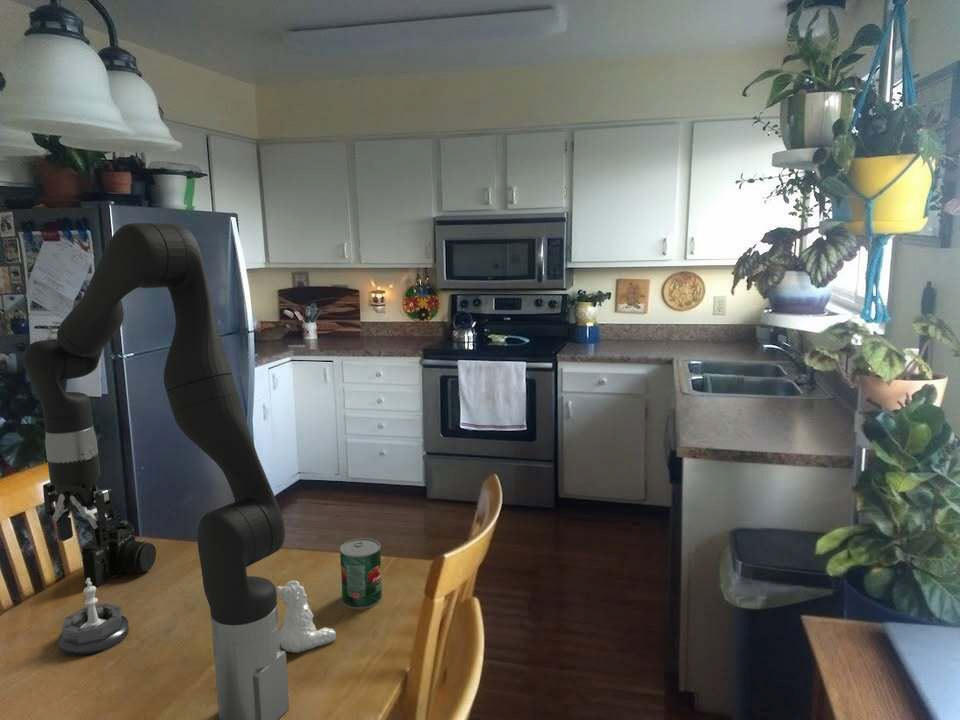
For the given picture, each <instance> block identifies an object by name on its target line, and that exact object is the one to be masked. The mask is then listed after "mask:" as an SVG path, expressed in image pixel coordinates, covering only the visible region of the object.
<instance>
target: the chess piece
mask: <svg viewBox="0 0 960 720" xmlns="http://www.w3.org/2000/svg"><path fill="white" fill-rule="evenodd" d="M86 584H87V587H86V586H85V588H84V589H83V590H82V592H83V594H84V596H85V597H86V599H85V601H84V602H83V603H84V605H86V606H87V607H88V621H87V622H86V623H85V624H83V625H82V626H81V627H80V628H81V629H82V628H87V627H92V626H97V625H100V624H102V623H103V622H105V621H107V620H104V619H99V618H98V615H97V612H96V608H95V605H96V603H98V601H99V599H98V598H97V597H95V596H96V595H95V594H96V591H97V588H96V587H95V586H91V585H92V583H91V581H90V578H87V581H86Z"/></svg>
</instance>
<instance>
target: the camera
mask: <svg viewBox="0 0 960 720" xmlns="http://www.w3.org/2000/svg"><path fill="white" fill-rule="evenodd" d="M107 531H108V543H107V545H105V546H103V547H101V548H95V547H94V543H93V537H91V539H89V541H87V542H86V543H85V544H84V545H83V546H82V551H81V554H82V567H83V575H84V577H83V578H84V585H85V588H86V587H87V584H86V581H87V578H90V581H91V583H92V585H91V586H95V587H96V589H97V588H99V587H101V586H102V585H104V584H105V583H106V582H107V581H108V580H110V579H111V578H113V577H116V576H117V577H119V576H122V575H125V574H127V573H136V574H137V573H139V574H140V573H146V572H149V571H150V570H151V569H152V567H153V566H154V564H155V561H156V558H157V548H156V546H155V545H154V544H153V543H151V542H147V541H137V540H136V536H135V527H134V525H133V524H132V523H131V522H130V521H128V520H126V519H124V520H121V521H120V522H119V523H117V524H116V527H115V526H114V525H107Z"/></svg>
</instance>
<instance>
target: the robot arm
mask: <svg viewBox="0 0 960 720" xmlns="http://www.w3.org/2000/svg"><path fill="white" fill-rule="evenodd" d="M205 269H206V268H205V263H204V259H203V255H202V252H201V248H200V246H199V244H198V241H197V239H196V238H195V236H194V234H193V233H192V231H190V230H189V229H188V228H187V227H185V225H181V224H175V223H174V224H173V223H156V222H155V223H152V222H151V223H150V222H149V223H148V222H132V223H131V222H130V223H127V224H125V225H121V227H119V228H118V229H117V230H116V231H115V232H114V234H113V235H112V236H111V238H110V239H109V241H108V243H107V245H106V247H105V249H104V251H103V253H102V255H101V258H100V259H99V262H98V263H97V266H96V268H95V270H94V272H93V275H92V277H91V279H90V281H89V283H88V286H87V288H86V290H85V291H84V293H83V296H82V297H81V298H80V300H79V301H78V303H77V304H76V305H75V306H74V307H73V308H72V309H71V311H70V312H69V313H68V314H67V315H66V316H65V318H64V319H63V320H62V322H60V325H58V328H57V332H56V338H52V339H44V340H37V341H33V342H31V343H30V344H29V345H28V346H27V347H26V349H25V352H24V354H23V360H22V361H23V369H24V370H25V372H26V375H27V377H28V379H29V381H30V383H31V385H32V387H33V389H34V391H35V393H36V396H37V398H38V400H39V404H40V405H41V408H42V415H43V424H44V431H45V453H46V460H47V469H48V476H49V482H47V483H44V484H42V492H43V501H44V503H43V504H44V513H45V516H46V517H52V520H53V521H54V522H55V523H56V530H57V535H58V540H59V541H60V542H61V541H62V542H65V541H67V540H69V539H71V538H73V535H74V533H73V524H72V523H73V522H72V517H70V516H71V514H72V513H73V512H76V513H78V514H80V515H81V516H82V518H83V519H84V520H86V519H87V520H88V522H89V524H90V526H91V527H92V528H91V532H92V538H93V543H94V547H95V548H101V547H103V546H105V545H107V543H108V531H107V526H108V525H110V524H112V523H114V522H116V521H117V514H116V508H115V507H116V506H115V500H114V497H113V491H112V489H111V487H108V488H104V489H99V488H98V485H97V481H98V479H99V477H100V476H101V466H100V459H99V458H100V457H99V448H98V440H97V434H96V431H95V427H94V423H93V422H94V421H93V420H94V419H93V414H92V404H91V399H90V396H88V394H86V393H84V392H81V391H65V390H64V389H63V388H62V386H61V385H60V382H61V381H67V380H71V379H73V380H74V379H79V378H82V377H85V376H87V375H89V374H91V373H93V372H94V371H95V370H96V369H97V367H98V365H99V362H100V358H101V356H102V354H103V350H104V347H105V346H106V345H108V343H109V342H110V341H112V339H113V338H114V337H115V336H116V335H117V333H118V332H119V331H120V329H121V327H122V325H123V322H124V319H125V318H124V317H125V312H124V311H125V310H124V305H123V301H122V299H124V298H125V297H126V296H127V295H129V294H130V293H131V292H133V291H135V290H136V289H138V288H139V289H140V288H142V289H155V288H156V289H159V288H167V290H168V291H169V294H170V298H171V302H172V305H173V311H174V318H175V327H174V333H173V338H172V340H171V343H170V347H169V350H168V353H167V357H166V360H165V366H164V369H163V385H164V389H165V391H166V395H167V398H168V401H169V402H168V403H169V405H170V409H171V411H172V415H173V418H174V420H175V422H176V424H177V427H179V429H180V430H181V432H182V433H183V434H184V435H185V436H186V437H187V438H188V439H189V440H190V441H191V442H192V443H193V444H195V445H196V446H197V447H198V448H199V449H200V450H201V451H203V452H204V454H206V455H207V456H208V457H209V458H211V460H213V462H215V464H216V465H217V466H218V467H219V468H220V470H221V471H222V473H223V474H224V477H225V478H226V480H227V482H228V485H229V487H230V489H231V493H232V495H233V499H234V502H231V503H229V504H226V505H223V506H221V507H218V508H216V509H213V510H211V511H209V512H207V513H205V514H204V516H202V517H201V519H200V520H199V523H198V528H197V535H196V536H197V538H196V539H197V548H198V551H197V552H198V556H199V563H200V570H201V578H202V584H203V590H204V594H205V597H206V600H207V603H208V605H209V610H210V611H209V612H210V621H211V622H210V624H211V635H212V636H211V637H212V647H213V660H214V661H213V662H214V672H215V684H216V695H217V698H216V699H217V707H218V719H219V720H279V719H280V718H281V717H282V716H283V715H284V714H285V713H286V712H287V711H288V710H289V709H290V699H289V698H290V695H289V681H288V666H287V653H286V652H287V651H285V650H281V646H280V642H279V632H280V629H279V617H278V616H279V613H278V612H279V611H278V610H279V609H278V593H277V587H276V586H275V584H274V583H273V582H272V581H271V580H270V579H267V578H264V577H261V576H253V575H248V573H247V568H248V567H249V566H251V565H253V564H254V565H255V563H257V562H259V561H262V560H263V559H266V558H268V557H269V556H272V555H273V554H276V553H277V552H278V551H279V550H280V549H281V548H282V546H283V544H284V542H285V537H286V536H285V535H286V529H285V523H284V519H283V515H282V512H281V509H280V505H279V503H278V501H277V499H276V496H275V493H274V492H273V489H272V486H271V484H270V481H269V479H268V477H267V475H266V472H265V470H264V468H263V465H262V463H261V461H260V458H259V455H258V453H257V450H256V446H255V444H254V442H253V438H252V436H251V432H250V430H249V429H250V428H249V427H248V423H247V421H246V417H245V413H244V411H243V410H244V409H243V406H242V403H241V398H240V394H239V393H238V388H237V385H236V383H235V379H234V376H233V373H232V369H231V366H230V364H229V362H228V358H227V356H226V355H227V354H226V352H225V348H224V345H223V341H222V338H221V335H220V331H219V327H218V323H217V320H216V316H215V313H214V309H213V304H212V298H211V293H210V288H209V284H208V278H207V273H206V270H205ZM53 503H54V506H53V505H52V504H53ZM93 507H95V508H93ZM106 512H107V514H108V516H107V514H106ZM96 515H97V518H98V519H97V518H96Z"/></svg>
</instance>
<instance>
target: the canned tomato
mask: <svg viewBox="0 0 960 720" xmlns="http://www.w3.org/2000/svg"><path fill="white" fill-rule="evenodd" d="M339 552H340V553H339V556H340V575H341V576H340V577H341V596H342V597H341V598H342V599H341V601H342V604H343V605H344V606H345V607H346V608H347V607H348V608H350V609H354V610H364V609H369V608H372V607H374V606H377V605H378V604H379V603H380V602H381V601H382V600H383V591H382V590H383V588H382V587H383V586H382V584H383V582H382V563H381V562H382V559H381V558H382V556H381V555H382V554H381V553H382V552H381V543H380V542H379V541H378V540H375V539H373V538H366V537H365V538H364V537H361V538H359V537H358V538H354V539H350V540H348V541H345V542H344V543H342V544H341V545H340V547H339Z"/></svg>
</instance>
